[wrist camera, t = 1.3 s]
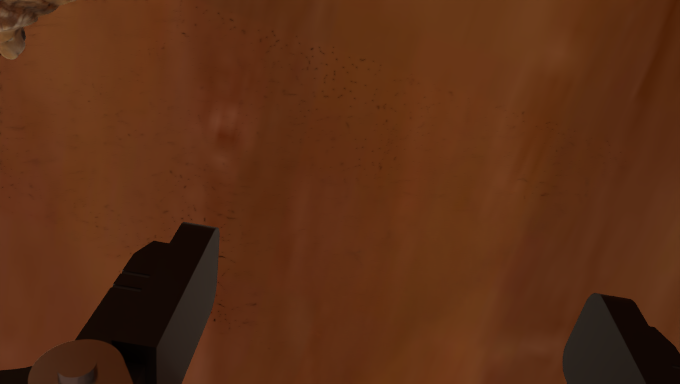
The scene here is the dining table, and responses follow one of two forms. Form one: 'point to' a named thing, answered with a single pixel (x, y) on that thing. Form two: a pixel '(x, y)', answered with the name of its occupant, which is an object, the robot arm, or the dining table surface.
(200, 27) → the dining table surface
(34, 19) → the lion figurine
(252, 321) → the dining table surface
